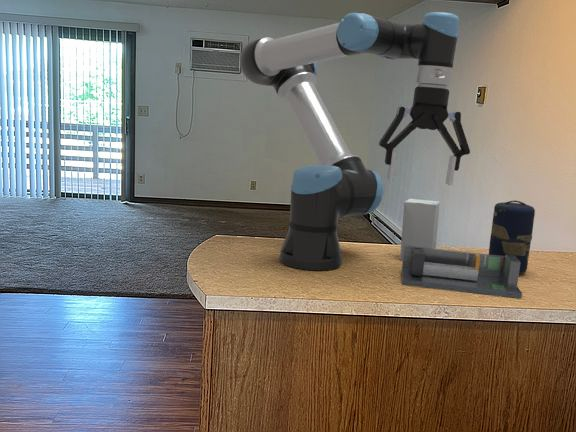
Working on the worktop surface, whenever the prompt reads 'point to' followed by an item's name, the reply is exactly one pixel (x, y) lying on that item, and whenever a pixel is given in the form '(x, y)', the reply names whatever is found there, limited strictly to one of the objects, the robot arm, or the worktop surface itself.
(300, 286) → the worktop surface
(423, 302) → the worktop surface
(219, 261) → the worktop surface
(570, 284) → the worktop surface
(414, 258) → the capped sliding bar
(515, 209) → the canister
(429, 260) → the rail
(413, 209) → the skincare box
